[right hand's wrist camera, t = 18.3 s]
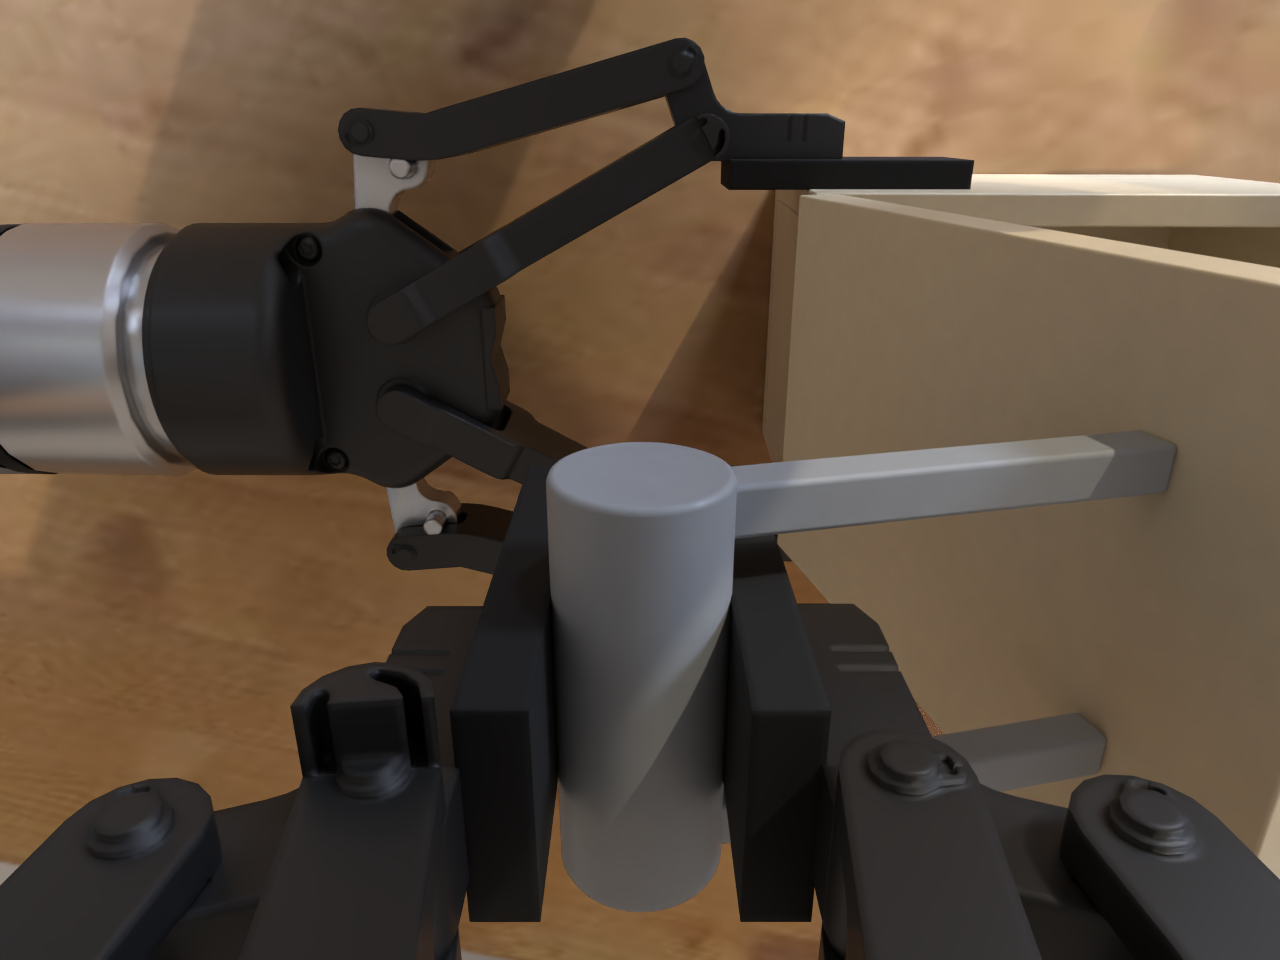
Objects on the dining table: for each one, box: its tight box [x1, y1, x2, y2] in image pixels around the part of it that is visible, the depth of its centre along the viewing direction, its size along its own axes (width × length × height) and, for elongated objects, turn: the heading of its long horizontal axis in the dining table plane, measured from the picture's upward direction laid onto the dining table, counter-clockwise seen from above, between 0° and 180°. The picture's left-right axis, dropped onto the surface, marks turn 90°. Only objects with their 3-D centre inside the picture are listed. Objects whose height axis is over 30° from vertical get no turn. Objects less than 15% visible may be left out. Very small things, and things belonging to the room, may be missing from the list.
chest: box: [762, 174, 1280, 463], centre depth 29 cm, size 14×10×9 cm, turn 90°
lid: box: [546, 194, 1280, 912], centre depth 16 cm, size 15×10×9 cm
